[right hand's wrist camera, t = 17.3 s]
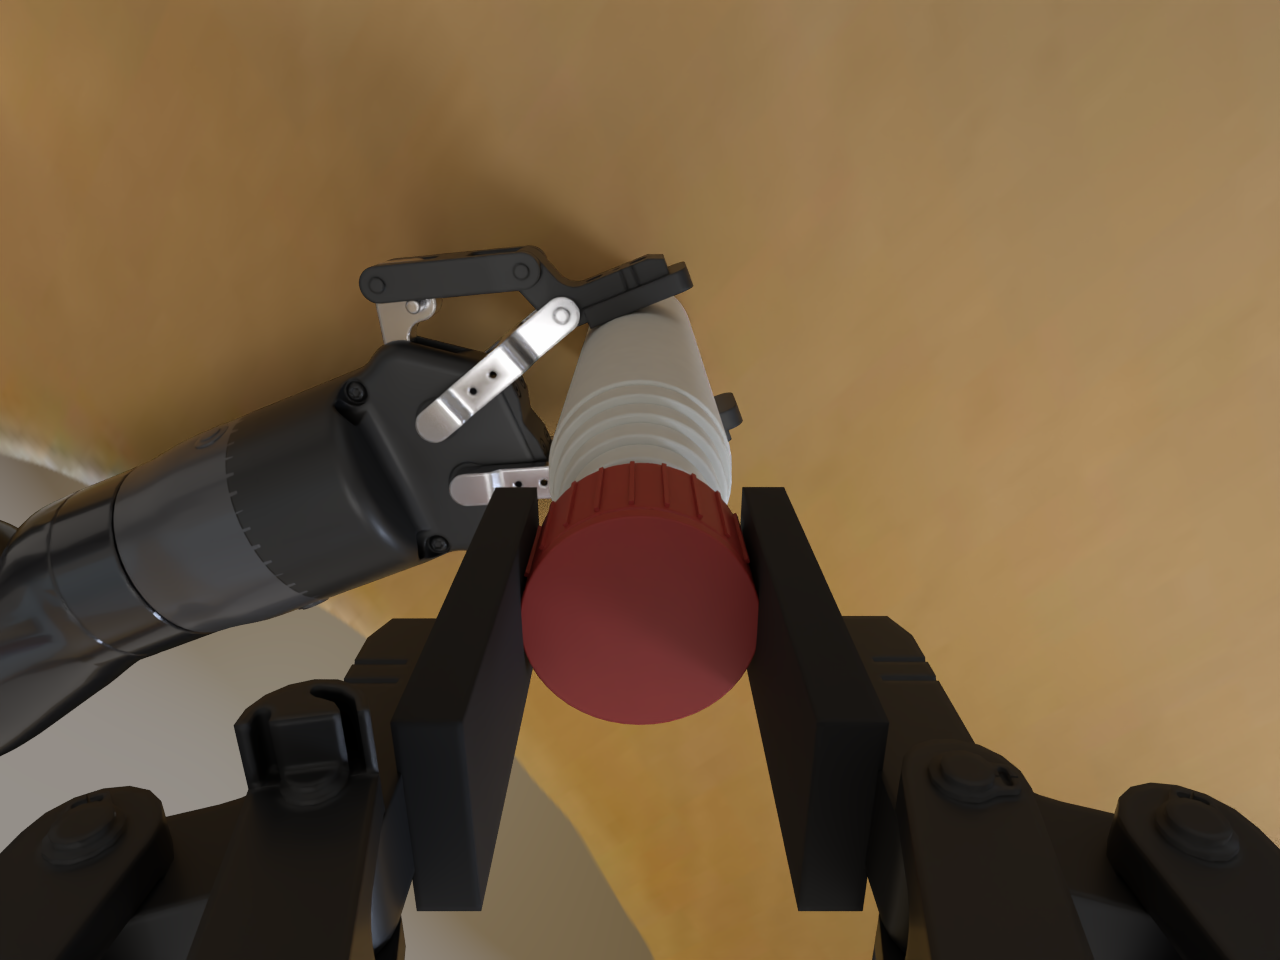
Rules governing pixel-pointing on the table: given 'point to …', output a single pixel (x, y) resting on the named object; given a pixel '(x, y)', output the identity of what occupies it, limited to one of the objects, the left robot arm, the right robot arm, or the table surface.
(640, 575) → the cap
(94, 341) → the table surface
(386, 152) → the table surface
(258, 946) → the right robot arm
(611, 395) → the bottle
